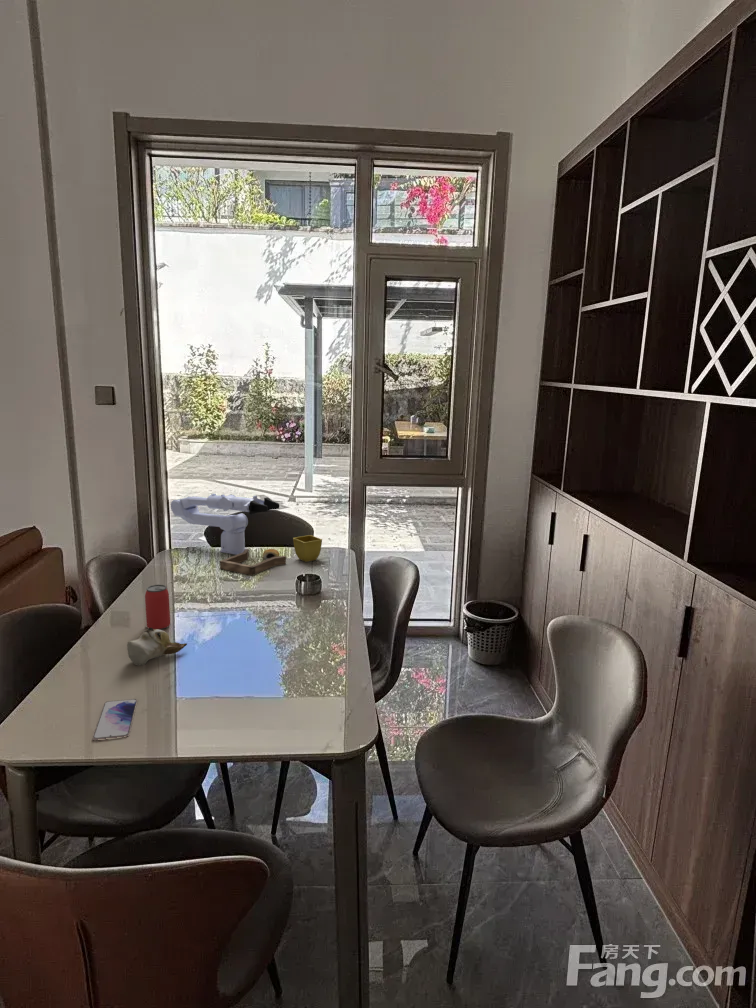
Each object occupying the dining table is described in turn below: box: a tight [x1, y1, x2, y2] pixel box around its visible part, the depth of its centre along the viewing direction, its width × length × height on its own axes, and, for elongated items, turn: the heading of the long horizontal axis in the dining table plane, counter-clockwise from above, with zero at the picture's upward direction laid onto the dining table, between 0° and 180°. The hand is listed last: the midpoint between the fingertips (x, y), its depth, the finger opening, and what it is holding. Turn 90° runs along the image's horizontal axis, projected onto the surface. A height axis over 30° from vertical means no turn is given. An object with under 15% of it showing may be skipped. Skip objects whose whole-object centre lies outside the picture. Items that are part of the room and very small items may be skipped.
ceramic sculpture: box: [126, 628, 188, 666], centre depth 159 cm, size 11×9×15 cm
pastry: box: [262, 548, 281, 561], centre depth 248 cm, size 9×7×4 cm
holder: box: [219, 548, 287, 576], centre depth 237 cm, size 20×18×3 cm
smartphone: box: [92, 698, 138, 741], centre depth 131 cm, size 7×1×15 cm
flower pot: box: [292, 534, 323, 563], centre depth 245 cm, size 9×9×9 cm
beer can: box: [144, 584, 171, 630], centre depth 178 cm, size 7×7×12 cm
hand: (273, 507), depth 242 cm, fingers open, 7 cm apart
